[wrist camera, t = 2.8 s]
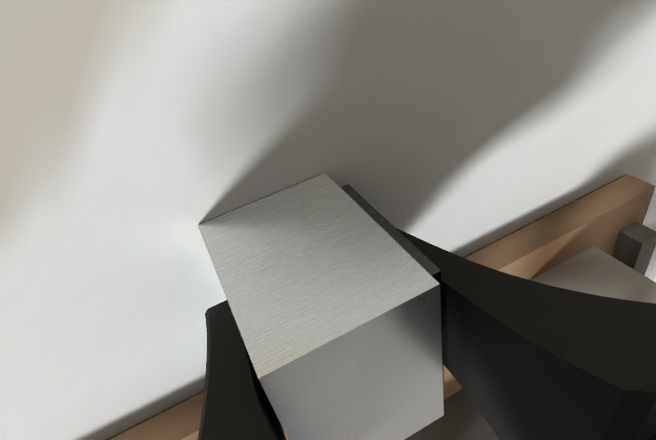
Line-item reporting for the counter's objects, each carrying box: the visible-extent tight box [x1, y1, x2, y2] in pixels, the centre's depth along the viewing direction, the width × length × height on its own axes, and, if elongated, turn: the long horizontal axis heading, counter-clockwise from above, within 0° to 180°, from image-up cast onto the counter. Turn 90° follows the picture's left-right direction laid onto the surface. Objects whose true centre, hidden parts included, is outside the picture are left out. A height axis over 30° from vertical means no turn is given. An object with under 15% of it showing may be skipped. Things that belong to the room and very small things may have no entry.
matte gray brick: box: [198, 173, 444, 440], centre depth 11 cm, size 5×4×5 cm
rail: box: [110, 175, 656, 440], centre depth 16 cm, size 24×8×6 cm, turn 102°
